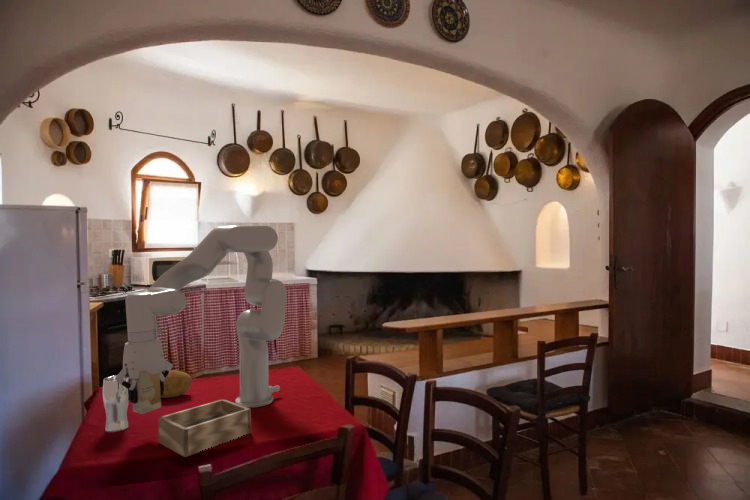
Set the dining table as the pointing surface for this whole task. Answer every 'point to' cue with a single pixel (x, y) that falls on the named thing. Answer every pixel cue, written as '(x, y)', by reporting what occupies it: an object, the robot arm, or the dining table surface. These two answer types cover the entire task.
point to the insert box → (204, 426)
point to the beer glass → (115, 404)
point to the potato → (176, 384)
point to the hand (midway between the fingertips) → (146, 398)
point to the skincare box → (147, 392)
